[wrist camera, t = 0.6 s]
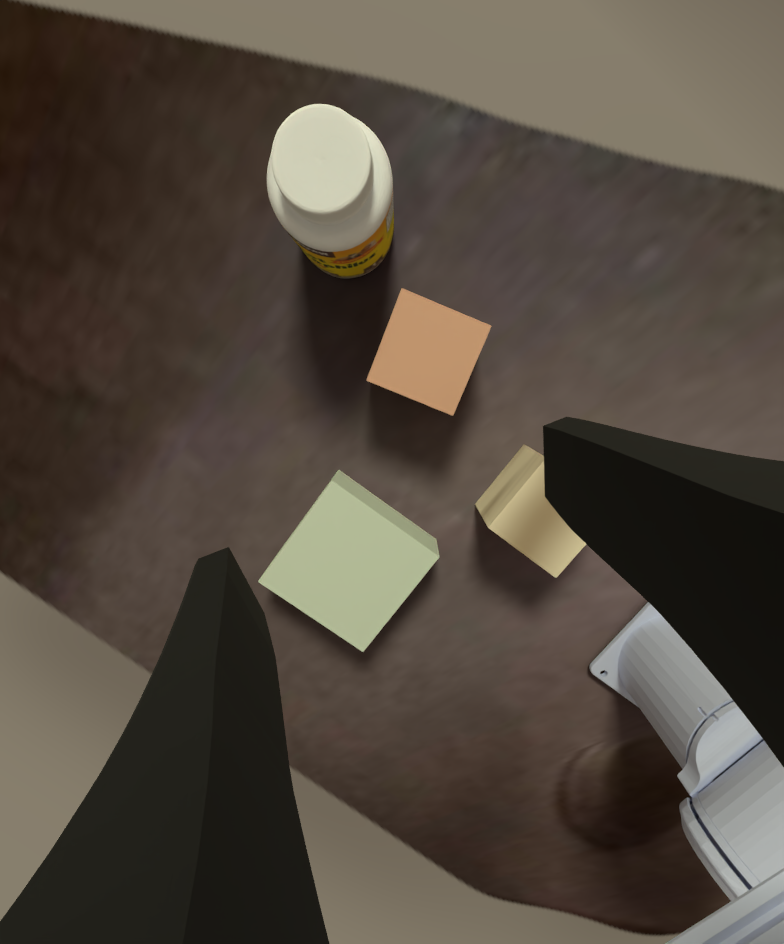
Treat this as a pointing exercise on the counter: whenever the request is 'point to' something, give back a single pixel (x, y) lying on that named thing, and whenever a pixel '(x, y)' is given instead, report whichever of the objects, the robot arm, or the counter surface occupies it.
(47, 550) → the counter surface
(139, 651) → the counter surface
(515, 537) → the beech cube
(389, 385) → the terracotta block
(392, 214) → the supplement bottle
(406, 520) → the sage block
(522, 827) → the counter surface
